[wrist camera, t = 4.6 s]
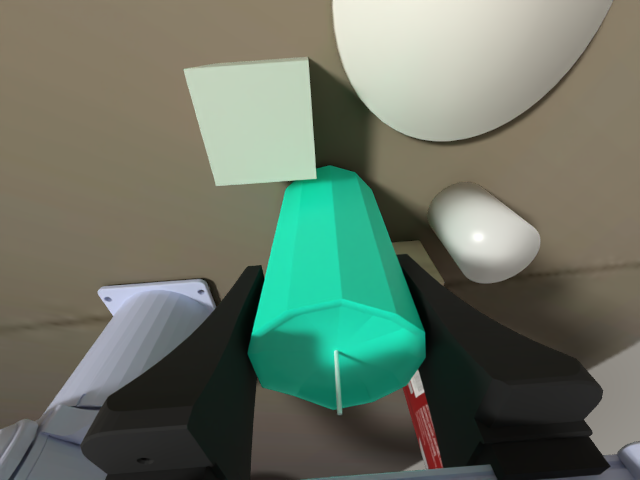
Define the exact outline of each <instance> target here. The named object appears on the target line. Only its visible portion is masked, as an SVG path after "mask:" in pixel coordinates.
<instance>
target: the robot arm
mask: <svg viewBox="0 0 640 480" xmlns="http://www.w3.org/2000/svg"><path fill="white" fill-rule="evenodd" d="M396 256H397V258H398V261H399V264H400V266H401V269H402V272H403V274H404V277H405V280H406V282H407V285H408V288H409V291H410V293H411V296H412V299H413V301H414V304H415V307H416V309H417V312H418V315H419V317H420V320H421V323H422V325H423V328H424V331H425V347H426V358H425V359H424V361H423V362H422V364H421V365H420V367H419V368H418V371H419V374H420V378H421V381H422V385H423V389H424V392H425V396H426V400H427V403H428V407H429V411H430V415H431V419H432V423H433V427H434V431H435V435H436V439H437V443H438V448H439V452H440V457H441V461H442V465H443V468H439V469H427V470H415V471H402V472H390V473H377V474H365V475H352V476H340V477H327V478H315V479H302V480H640V441H638V442H633V443H630V444H627V445H625V446H624V447H622V448H621V449H620V450H619V451H618V453H617V454H614V455H602V454H601V452H600V451H599V450H598V448H597V447H596V446H595V444H594V443H593V442H592V440H591V439H590V438H589V436H591V435H592V430H591V429H590V427H589V426H588V425H587V424H586V422H585V421H584V419H585V418H586V417H587V416H588V414H589V413H590V412H591V411H592V410H593V409H594V408H595V407H596V406H597V405H598V403H599V402H600V401H601V399H602V394H603V390H602V388H601V386H600V385H599V384H598V383H597V382H596V381H595V379H594V378H593V377H592V376H591V375H590V374H589V372H588V371H587V370H586V369H585V368H584V367H583V366H582V365H581V363H580V362H579V361H578V360H577V359H575V358H573V357H570V356H568V355H566V354H563V353H561V352H558V351H556V350H554V349H551V348H549V347H546V346H544V345H542V344H539V343H537V342H535V341H533V340H531V339H529V338H527V337H525V336H522V335H520V334H518V333H516V332H514V331H512V330H511V329H509V328H507V327H505V326H503V325H501V324H499V323H498V322H496V321H494V320H492V319H491V318H489V317H487V316H486V315H484V314H482V313H481V312H479V311H478V310H476V309H474V308H473V307H471V306H470V305H468V304H467V303H465V302H464V301H462V300H461V299H460V298H458V297H457V296H456V295H454V294H453V293H452V292H450V291H449V290H448V289H446V288H445V287H444V286H443V285H441V284H440V283H439V282H438V281H437V280H436V279H434V278H433V277H432V276H431V275H430V274H429V273H427V272H426V271H425V270H424V269H423V268H422V267H421V266H420V265H419V264H418V263H417V262H415V261H414V260H413V259H412V258H411V257H410V256H409V255H408V254H398V255H396ZM264 280H265V279H264V275H263V270H262V266H261V265H258V266H248V267H247V268H246V269H245V270H244V272H243V273H242V274H241V276H240V277H239V279H238V280H237V281H236V283H235V284H234V286H233V287H232V288H231V290H230V291H229V292H228V293H227V295H226V296H225V297H224V299H223V300H222V301H221V302H220V304H219V305H218V306H217V307H216V305H215V302H214V300H213V297H212V295H211V292H210V290H209V287H208V284H207V282H206V281H204V280H202V279H193V280H180V281H167V282H153V283H140V284H127V285H114V286H103V287H101V288H100V289H99V290H98V295H99V296H100V298H101V299H102V300H103V302H104V303H105V305H106V306H107V308H108V309H109V311H110V312H111V313H112V315H113V318H112V319H111V321H110V322H109V323H108V325H107V326H106V328H105V329H104V330H103V332H102V333H101V335H100V336H99V337H98V339H97V340H96V341H95V343H94V344H93V346H92V347H91V348H90V350H89V351H88V353H87V354H86V355H85V357H84V358H83V360H82V361H81V362H80V364H79V365H78V367H77V368H76V369H75V371H74V372H73V374H72V375H71V376H70V378H69V379H68V380H67V382H66V383H65V385H64V386H63V387H62V389H61V390H60V392H59V393H58V394H57V396H56V397H55V399H54V400H53V401H52V403H51V404H50V406H49V407H48V408H47V410H46V411H45V412H44V414H43V415H42V417H41V418H40V419H38V420H37V421H32V420H29V419H23V420H20V421H18V422H17V423H15V424H13V425H10V426H8V427H5V428H3V429H0V480H250V471H251V450H252V434H253V418H254V406H255V394H256V383H257V375H256V372H255V370H254V368H253V365H252V363H251V361H250V359H249V356H248V354H247V353H248V348H249V344H250V340H251V335H252V331H253V327H254V323H255V318H256V314H257V310H258V305H259V301H260V297H261V293H262V288H263V284H264ZM201 290H203V291H201Z"/></svg>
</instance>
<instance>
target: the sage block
mask: <svg viewBox="0 0 640 480" xmlns="http://www.w3.org/2000/svg"><path fill="white" fill-rule="evenodd" d="M183 70H184V73H185V77H186V80H187V84H188V87H189V91H190V95H191V98H192V102H193V105H194V109H195V112H196V116H197V119H198V123H199V126H200V130H201V134H202V137H203V141H204V144H205V148H206V151H207V155H208V158H209V162H210V165H211V169H212V172H213V176H214V180H215V183H216V186H223V185H237V184H251V183H264V182H278V181H292V180H306V179H317V177H316V163H315V148H314V134H313V120H312V105H311V91H310V76H309V62H308V57H300V58H286V59H272V60H258V61H244V62H230V63H216V64H210V65H204V66H198V67H192V68H187V69H183Z"/></svg>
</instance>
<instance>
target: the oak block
mask: <svg viewBox="0 0 640 480" xmlns="http://www.w3.org/2000/svg"><path fill="white" fill-rule="evenodd" d="M392 245H393V248H394V250H395V253H396V255H398V254H408V255H409V256H410V257H411V258H412V259H413V260H414V261H415V262H417V263H418V264H419V265H420V266H421V267H422V268H423V269H424V270H425V271H426V272H427V273H429V274H430V275H431V276H432V277H433V278H434V279H436V280H437V281H438V282H439V283H440V284H441V285H443V286H444V281H443V279H442V277H441V276H440V274H439V272H438V271H437V269H436V267H435V266H434V264H433V262H432V261H431V259H430V257H429V256H428V254H427V252H426V251H425V249H424V247H423V246H422V244H421V242H420V241H419V240H418V241H405V242H393V243H392Z"/></svg>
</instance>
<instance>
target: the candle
mask: <svg viewBox="0 0 640 480" xmlns="http://www.w3.org/2000/svg"><path fill="white" fill-rule="evenodd" d="M316 177H317V179H306V180H295V181H294V182H293V183H291V184H290V185H289V186H288V187H287V188H286V190H285V194H284V199H283V203H282V207H281V211H280V216H279V220H278V224H277V229H276V233H275V237H274V241H273V246H272V250H271V254H270V258H269V263H268V267H267V271H266V276H265V280H264V284H263V288H262V293H261V297H260V301H259V305H258V310H257V314H256V318H255V323H254V327H253V331H252V335H251V340H250V344H249V348H248V353H247V354H248V356H249V359H250V361H251V363H252V365H253V368H254V370H255V372H256V375H257V377H258V379H259V381H260V384H261V386H262V387H263V388H266V389H270V390H274V391H278V392H281V393H285V394H289V395H292V396H296V397H298V398H301V399H304V400H307V401H309V402H312V403H315V404H318V405H321V406H323V407H326V408H329V409H332V410H336V409H337V415H342V408H346V407H351V406H356V405H361V404H366V403H371V402H374V401H376V400H378V399H380V398H382V397H384V396H386V395H388V394H390V393H392V392H394V391H397V390H399V389H401V388H403V387H405V386H407V384H408V383H409V381H410V380H411V378H412V377H413V375H414V374H415V373H416V371H417V370H418V368H419V367H420V365H421V364H422V362H423V361H424V359H425V358H426V347H425V331H424V328H423V325H422V323H421V320H420V317H419V315H418V312H417V309H416V307H415V304H414V301H413V299H412V296H411V293H410V291H409V288H408V285H407V282H406V280H405V277H404V274H403V272H402V269H401V266H400V264H399V261H398V258H397V256H396V253H395V250H394V248H393V245H392V242H391V240H390V237H389V234H388V232H387V229H386V226H385V224H384V221H383V218H382V216H381V213H380V210H379V208H378V205H377V202H376V200H375V197H374V194H373V192H372V190H371V189H370V187H369V186H368V185H367V184H366V183H365V182H364V181H363V180H362V179H361V178H360V177H359V176H358V175H357V174H356V173H355V172H352V171H349V170H345V169H341V168H338V167H334V166H331V165H329V166H325V167H321V168H317V169H316Z"/></svg>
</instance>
